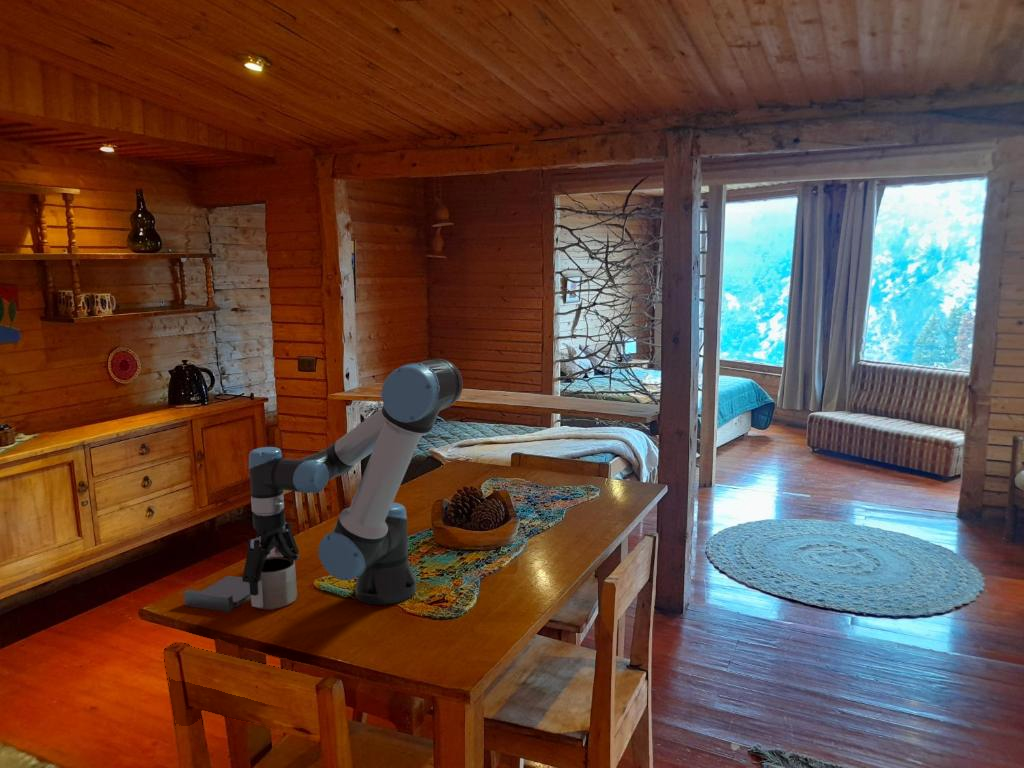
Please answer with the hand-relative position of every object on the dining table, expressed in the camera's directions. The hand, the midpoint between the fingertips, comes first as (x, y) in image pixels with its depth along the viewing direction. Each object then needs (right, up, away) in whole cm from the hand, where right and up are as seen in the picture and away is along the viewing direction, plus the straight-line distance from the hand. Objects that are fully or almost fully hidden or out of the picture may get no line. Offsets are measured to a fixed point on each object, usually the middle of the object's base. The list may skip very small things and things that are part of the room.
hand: (273, 595), depth 180 cm
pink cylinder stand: (-7, +3, +22) cm, 23 cm away
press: (-10, 0, +13) cm, 16 cm away
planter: (0, -2, 0) cm, 2 cm away
